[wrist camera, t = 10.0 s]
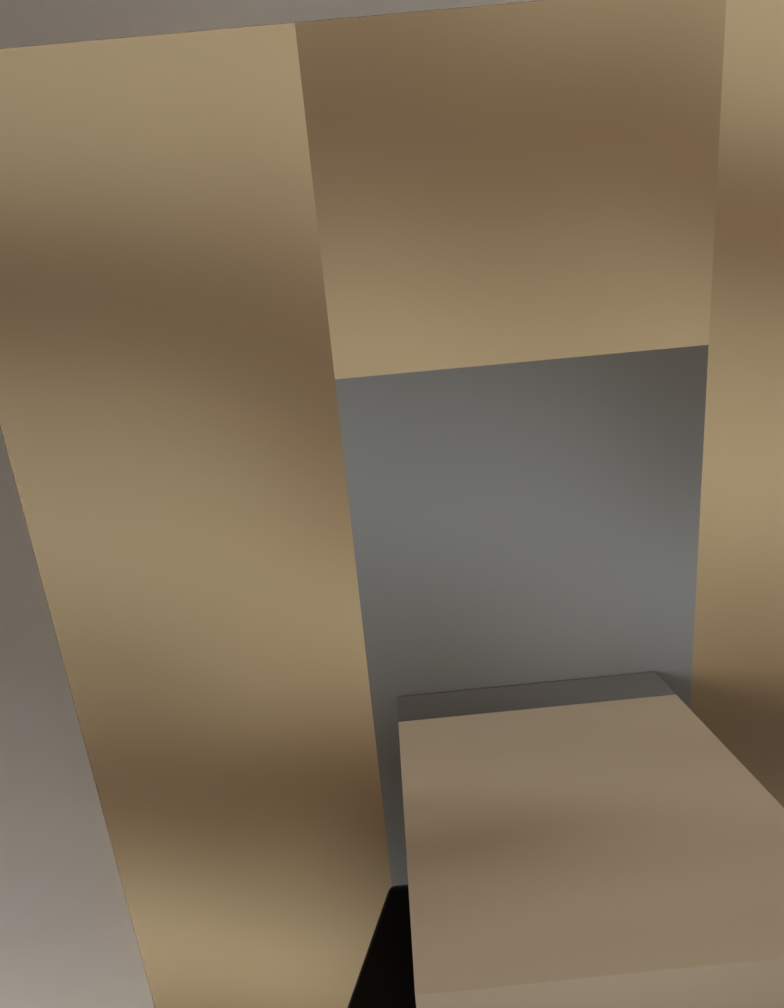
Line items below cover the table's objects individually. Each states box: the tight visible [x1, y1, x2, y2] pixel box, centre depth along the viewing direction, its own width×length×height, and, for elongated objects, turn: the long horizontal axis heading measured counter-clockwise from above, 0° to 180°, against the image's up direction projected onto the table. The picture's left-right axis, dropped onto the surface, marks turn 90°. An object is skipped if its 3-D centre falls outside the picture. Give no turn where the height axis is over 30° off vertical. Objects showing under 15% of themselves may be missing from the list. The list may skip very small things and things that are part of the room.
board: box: [0, 0, 784, 1008], centre depth 9 cm, size 22×14×1 cm, turn 5°
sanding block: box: [397, 672, 784, 1008], centre depth 7 cm, size 6×4×4 cm, turn 5°
